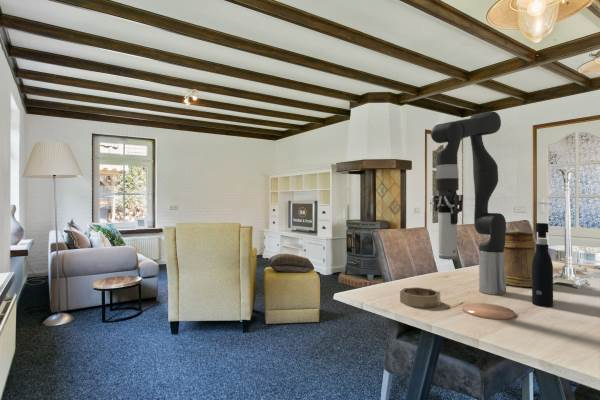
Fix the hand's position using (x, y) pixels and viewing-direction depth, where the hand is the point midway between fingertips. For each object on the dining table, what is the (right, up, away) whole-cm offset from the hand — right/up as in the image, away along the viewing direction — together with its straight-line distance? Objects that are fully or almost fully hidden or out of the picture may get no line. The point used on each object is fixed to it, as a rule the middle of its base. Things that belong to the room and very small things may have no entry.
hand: (447, 223), depth 129 cm
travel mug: (0, -13, 0) cm, 13 cm away
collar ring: (-9, -30, +5) cm, 32 cm away
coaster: (+11, -30, -7) cm, 33 cm away
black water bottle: (+36, -30, +2) cm, 47 cm away
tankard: (+49, -31, +38) cm, 69 cm away
